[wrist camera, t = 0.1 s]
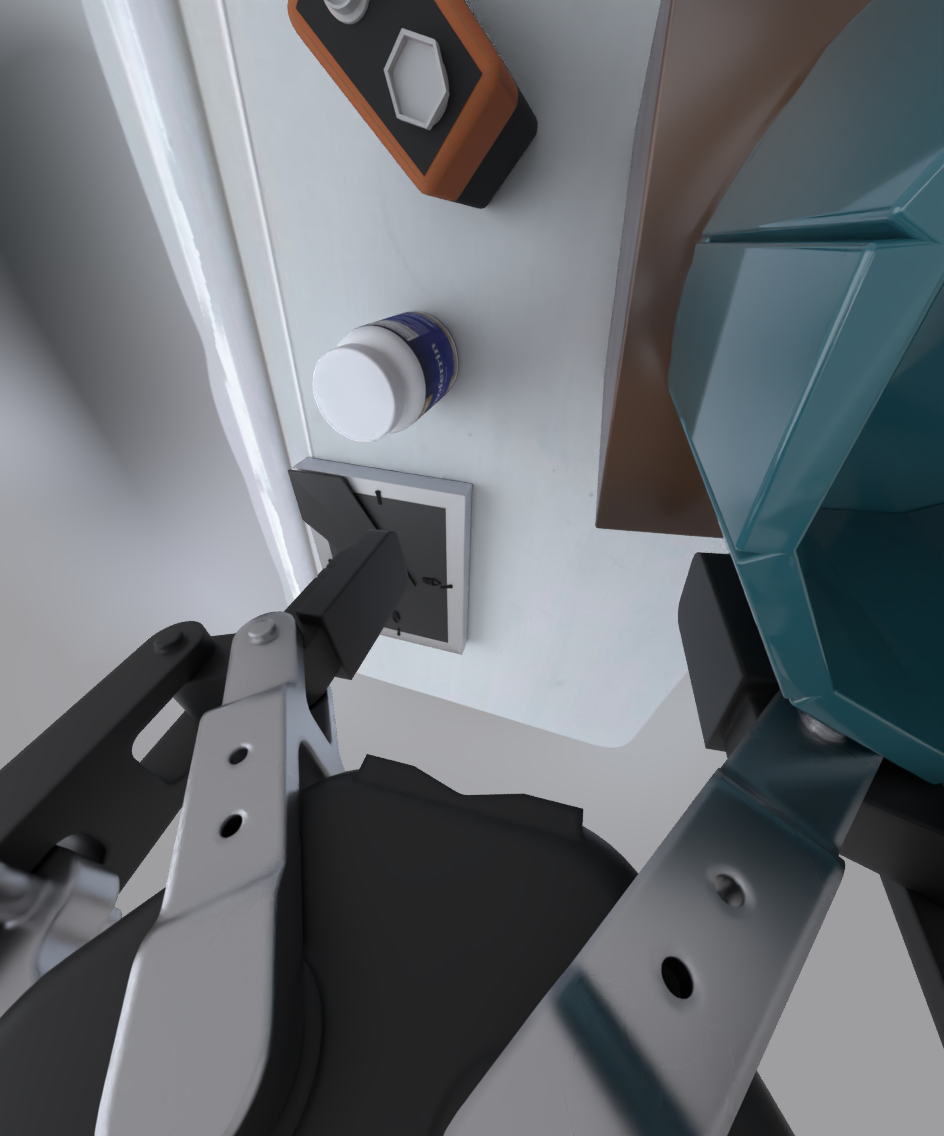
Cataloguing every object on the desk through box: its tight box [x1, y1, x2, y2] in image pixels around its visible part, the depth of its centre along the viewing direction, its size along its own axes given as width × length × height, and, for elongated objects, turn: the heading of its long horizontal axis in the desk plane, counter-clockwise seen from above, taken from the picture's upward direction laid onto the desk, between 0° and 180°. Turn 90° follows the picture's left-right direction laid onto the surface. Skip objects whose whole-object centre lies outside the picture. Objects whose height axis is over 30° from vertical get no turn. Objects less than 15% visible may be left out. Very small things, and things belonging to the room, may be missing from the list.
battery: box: [288, 0, 537, 209], centre depth 16 cm, size 4×7×10 cm, turn 46°
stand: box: [595, 0, 872, 538], centre depth 14 cm, size 11×11×18 cm
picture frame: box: [288, 457, 472, 655], centre depth 40 cm, size 16×3×21 cm
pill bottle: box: [313, 312, 458, 442], centre depth 24 cm, size 6×6×10 cm
